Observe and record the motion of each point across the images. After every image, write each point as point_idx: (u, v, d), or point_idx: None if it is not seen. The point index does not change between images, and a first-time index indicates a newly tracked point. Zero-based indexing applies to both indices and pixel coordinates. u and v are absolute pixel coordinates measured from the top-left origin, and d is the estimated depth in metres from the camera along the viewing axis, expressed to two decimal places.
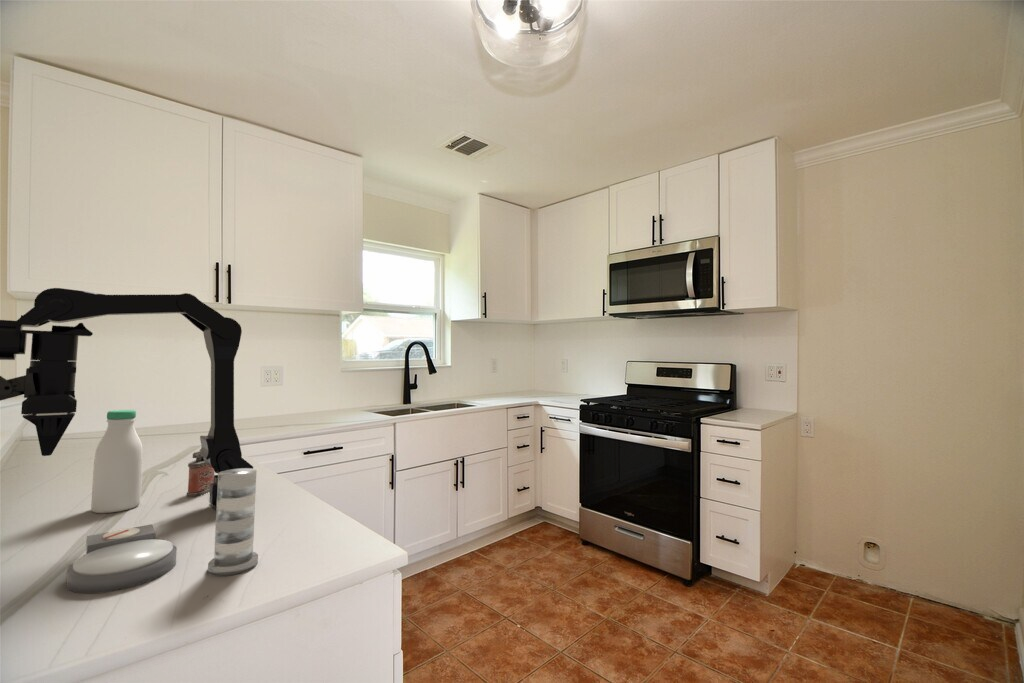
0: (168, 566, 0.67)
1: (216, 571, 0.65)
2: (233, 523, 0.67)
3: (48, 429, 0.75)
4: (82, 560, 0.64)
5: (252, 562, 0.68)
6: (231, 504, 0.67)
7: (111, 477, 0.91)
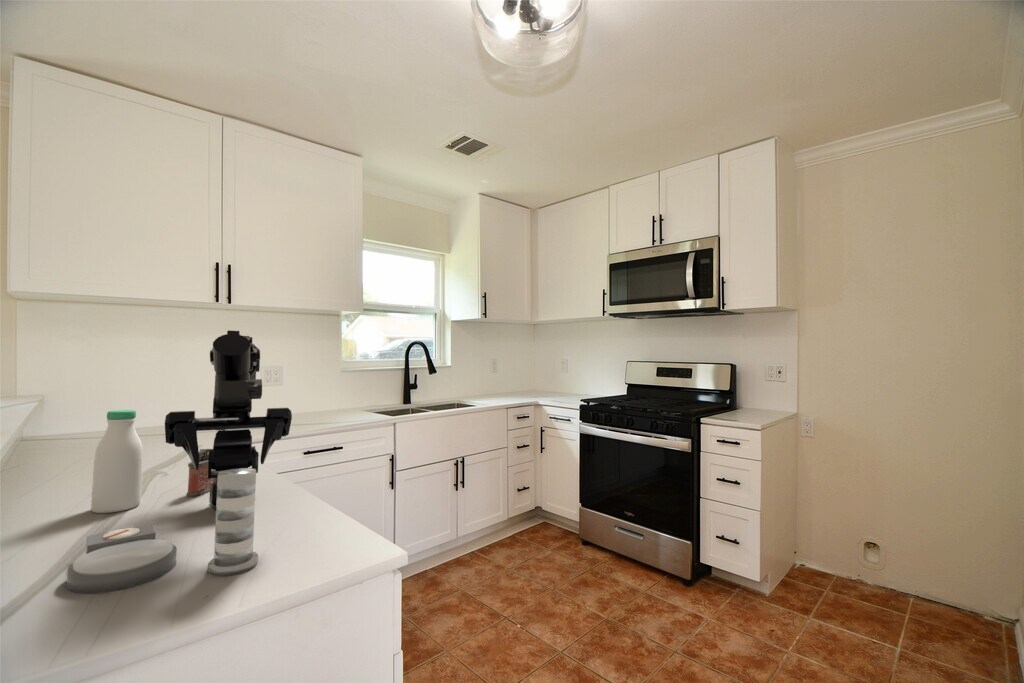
0: (168, 566, 0.67)
1: (216, 571, 0.65)
2: (233, 523, 0.67)
3: None
4: (82, 560, 0.64)
5: (252, 562, 0.68)
6: (231, 504, 0.67)
7: (111, 477, 0.91)
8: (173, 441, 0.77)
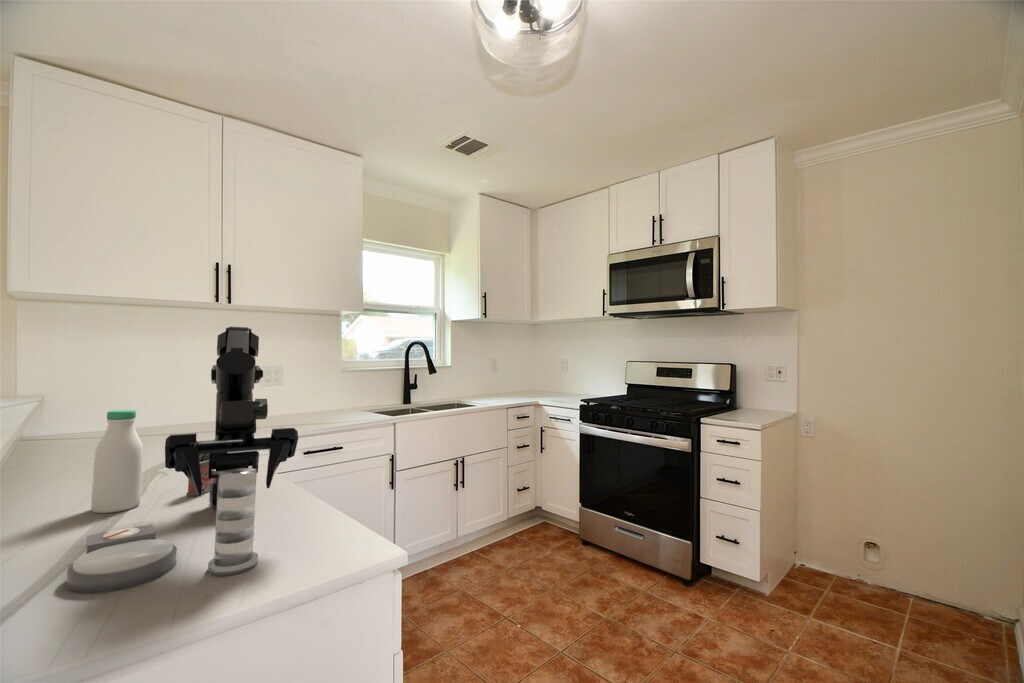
0: (168, 566, 0.67)
1: (216, 571, 0.65)
2: (233, 523, 0.67)
3: None
4: (82, 560, 0.64)
5: (252, 562, 0.68)
6: (231, 504, 0.67)
7: (111, 477, 0.91)
8: (173, 466, 0.73)
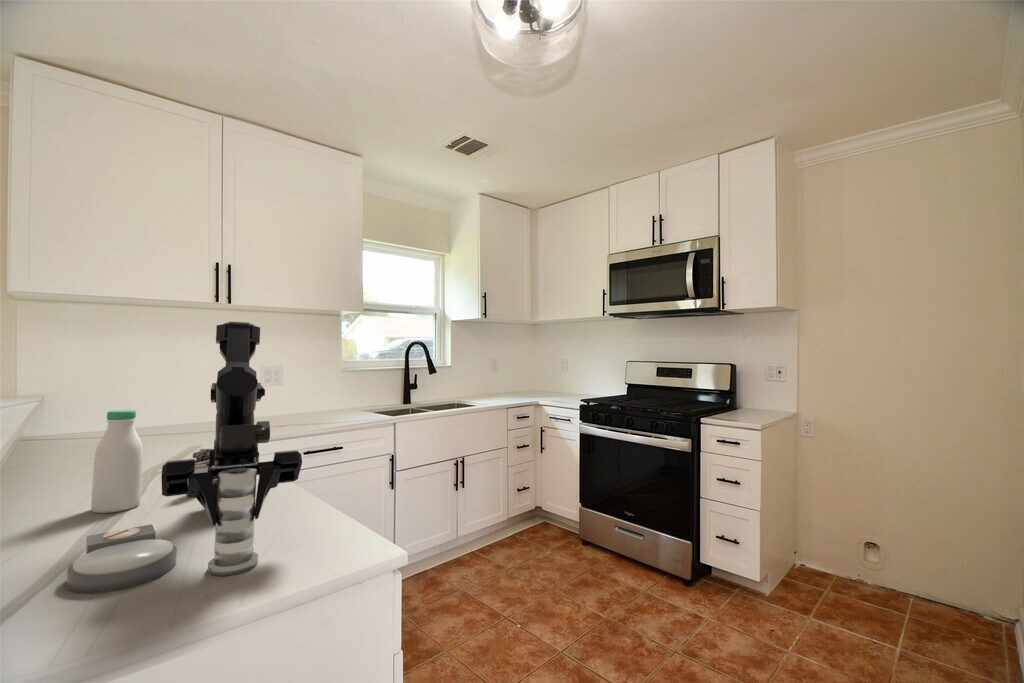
0: (168, 566, 0.67)
1: (216, 571, 0.65)
2: (233, 523, 0.67)
3: None
4: (82, 560, 0.64)
5: (252, 562, 0.68)
6: (231, 504, 0.67)
7: (111, 477, 0.91)
8: (170, 493, 0.69)
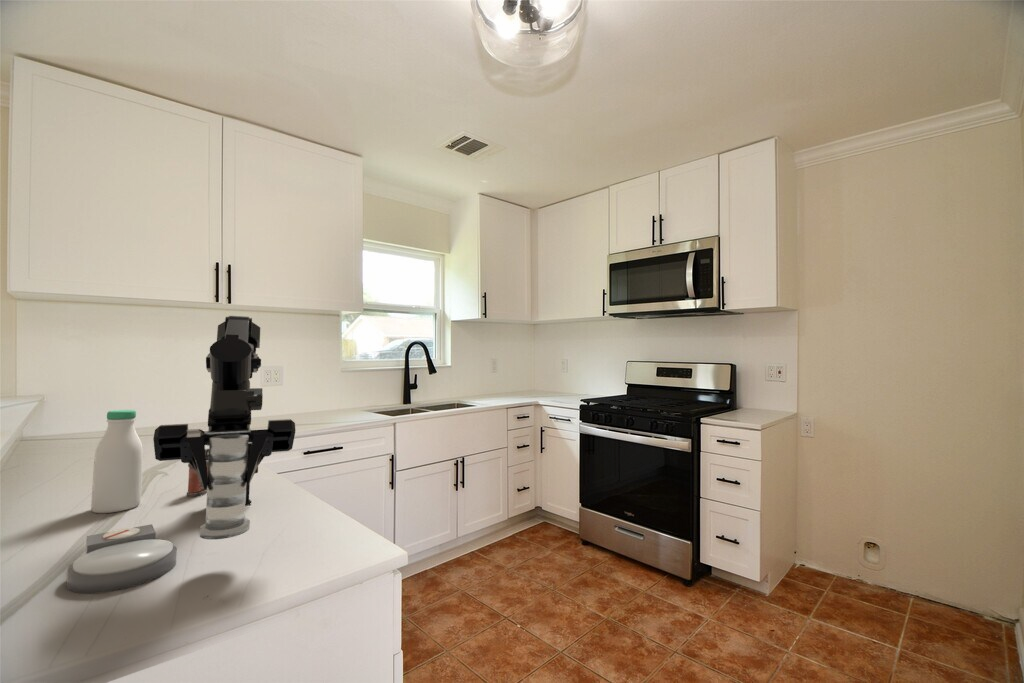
0: (168, 566, 0.67)
1: (207, 534, 0.65)
2: (224, 487, 0.66)
3: None
4: (82, 560, 0.64)
5: (243, 527, 0.68)
6: (222, 468, 0.66)
7: (111, 477, 0.91)
8: (164, 458, 0.69)
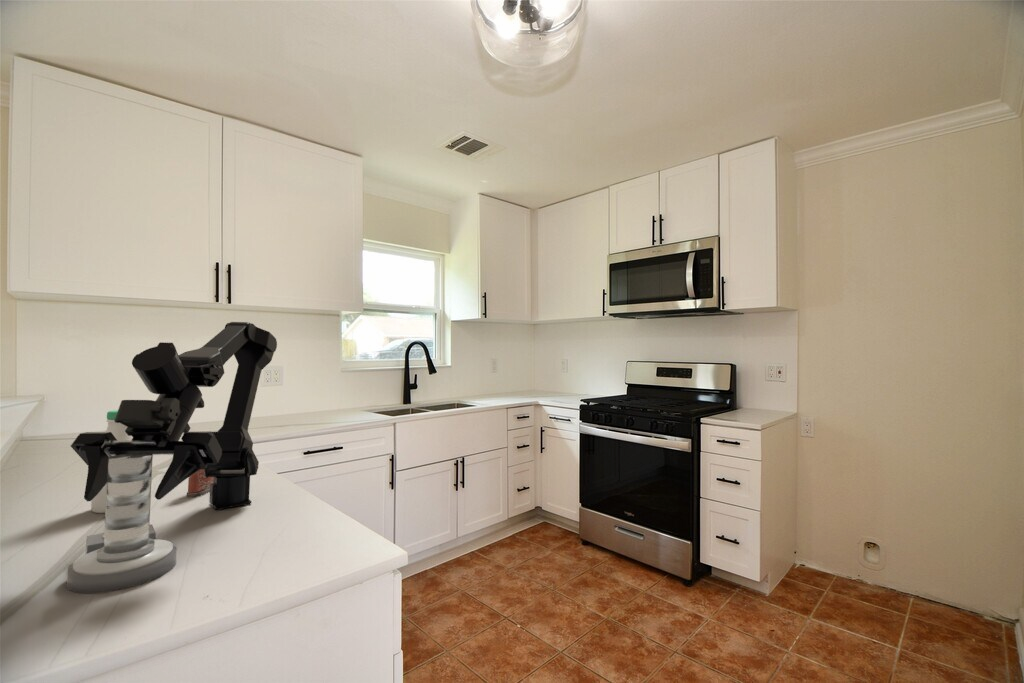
0: (168, 566, 0.67)
1: (97, 556, 0.64)
2: (114, 509, 0.64)
3: (179, 470, 0.69)
4: (82, 560, 0.64)
5: (134, 553, 0.64)
6: (112, 489, 0.64)
7: None
8: None
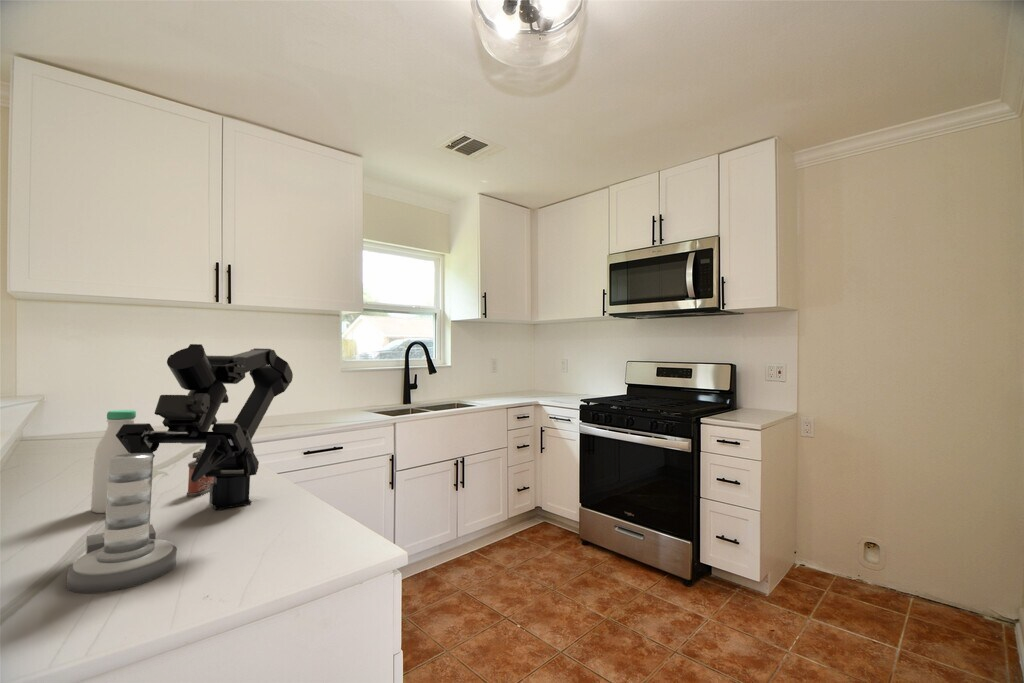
0: (168, 566, 0.67)
1: (97, 556, 0.64)
2: (114, 509, 0.64)
3: (211, 457, 0.79)
4: (82, 560, 0.64)
5: (134, 553, 0.64)
6: (113, 489, 0.64)
7: None
8: None
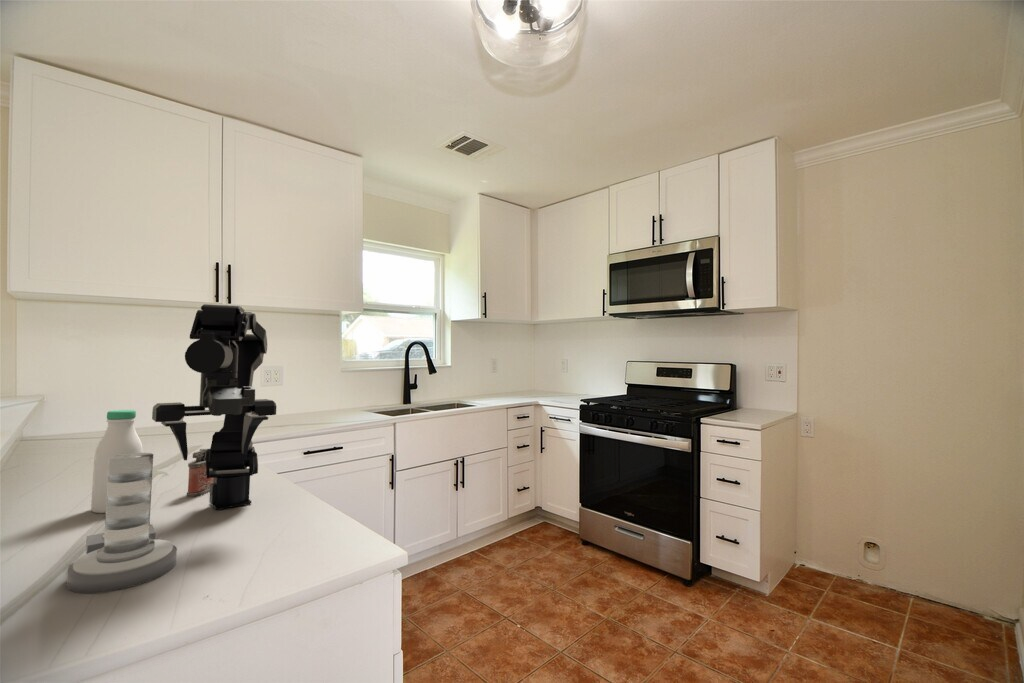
0: (168, 566, 0.67)
1: (97, 556, 0.64)
2: (114, 509, 0.64)
3: None
4: (82, 560, 0.64)
5: (134, 553, 0.64)
6: (113, 489, 0.64)
7: None
8: None
